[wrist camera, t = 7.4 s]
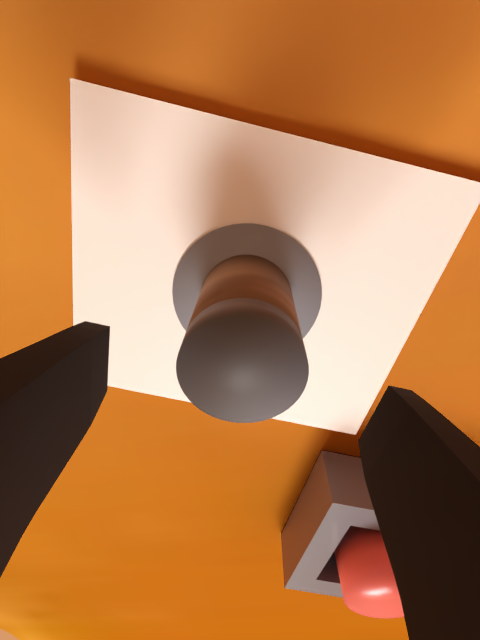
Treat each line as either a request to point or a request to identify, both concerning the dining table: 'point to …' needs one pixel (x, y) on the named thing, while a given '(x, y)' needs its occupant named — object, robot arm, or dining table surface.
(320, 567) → the button housing
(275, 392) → the grey rounded cylinder
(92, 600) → the dining table surface
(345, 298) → the paper sheet
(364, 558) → the button
